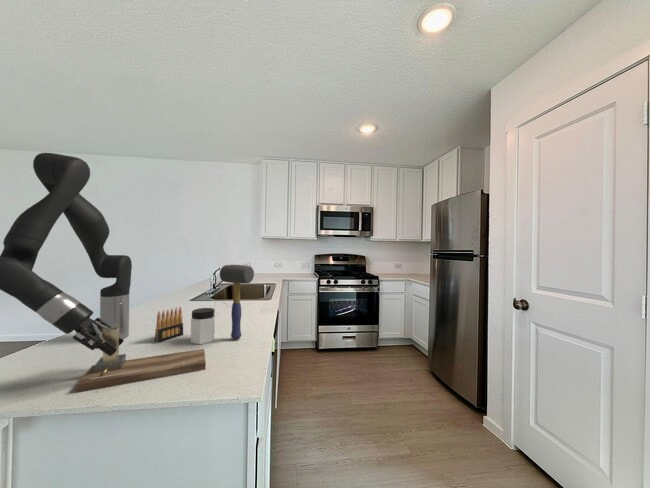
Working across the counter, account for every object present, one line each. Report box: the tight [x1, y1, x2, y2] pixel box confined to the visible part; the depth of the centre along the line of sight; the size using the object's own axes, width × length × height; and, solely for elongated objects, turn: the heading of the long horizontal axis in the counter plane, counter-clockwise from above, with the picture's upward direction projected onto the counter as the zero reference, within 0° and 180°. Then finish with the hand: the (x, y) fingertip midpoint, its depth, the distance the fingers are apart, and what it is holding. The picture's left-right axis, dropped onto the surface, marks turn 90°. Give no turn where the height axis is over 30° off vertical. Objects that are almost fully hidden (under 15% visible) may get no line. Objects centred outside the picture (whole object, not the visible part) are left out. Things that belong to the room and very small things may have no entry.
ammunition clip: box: [154, 306, 184, 344], centre depth 107 cm, size 11×2×12 cm, turn 153°
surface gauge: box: [94, 327, 127, 373], centre depth 76 cm, size 10×6×11 cm, turn 26°
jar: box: [190, 307, 216, 345], centre depth 105 cm, size 9×8×12 cm
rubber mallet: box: [219, 264, 255, 341], centre depth 106 cm, size 12×8×30 cm, turn 70°
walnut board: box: [75, 348, 207, 393], centre depth 79 cm, size 12×30×2 cm, turn 116°
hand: (117, 348), depth 78 cm, fingers open, 7 cm apart
